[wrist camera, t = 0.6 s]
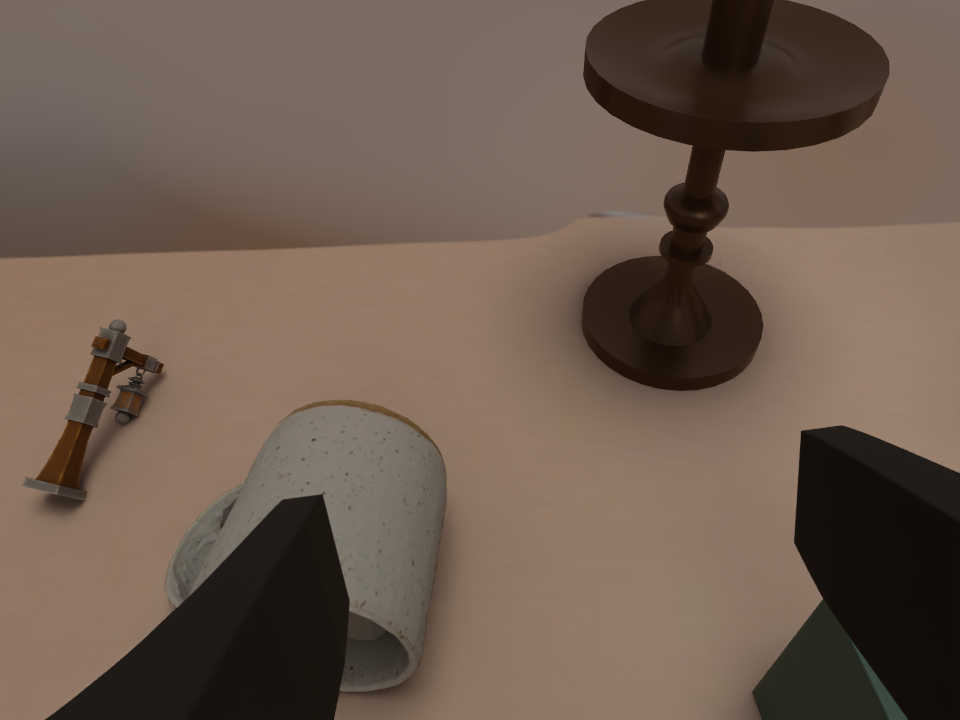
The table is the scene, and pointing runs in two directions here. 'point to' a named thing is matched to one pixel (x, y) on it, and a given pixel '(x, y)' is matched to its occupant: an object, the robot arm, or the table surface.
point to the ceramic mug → (344, 525)
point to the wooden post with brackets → (94, 409)
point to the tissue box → (823, 678)
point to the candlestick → (712, 160)
